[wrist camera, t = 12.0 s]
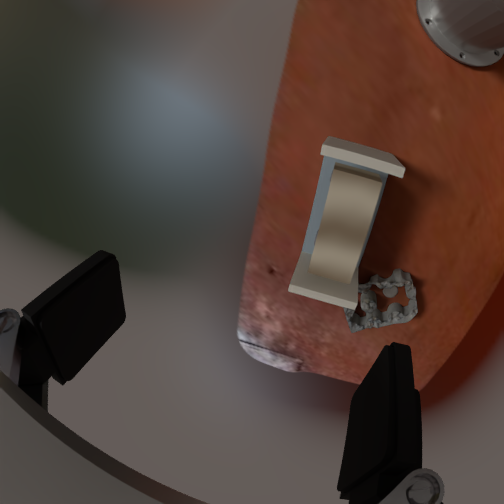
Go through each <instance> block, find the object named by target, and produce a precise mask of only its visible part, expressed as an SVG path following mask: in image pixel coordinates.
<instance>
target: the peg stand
mask: <svg viewBox="0 0 504 504" xmlns="http://www.w3.org/2000/svg"><path fill="white" fill-rule="evenodd" d="M320 155H324V159H323V164H322V168H321V173H320V177H319V182H318V186H317V191H316V195H315V199H314V204H313V208H312V212H311V216H310V220H309V224H308V228H307V233H306V237H305V241H304V245H303V249H302V252H301V255H300V258H299V260H298V263H297V266H296V269H295V271H294V274H293V277H292V280H291V282H290V285H289V289H288V291H289V292H293V293H296V294H300V295H303V296H307V297H310V298H314V299H317V300H320V301H324V302H328V303H331V304H335V305H338V306H342V307H345V308H349V309H352V310H355V308H356V306H357V304H358V267H359V264H360V261H361V258H362V256H363V253H364V250H365V247H366V244H367V241H368V238H369V235H370V232H371V229H372V226H373V223H374V220H375V217H376V214H377V211H378V207H379V204H380V201H381V198H382V194H383V191H384V187H385V184H386V180H387V177H388V174H391V175H394V176H397V177H400V178H403V175H404V171H405V167H404V166H403V165H402V164H401V163H400V162H399V161H398V160H397V159H396V157H395V156H394V155H393V154H391V153H388V152H384V151H381V150H378V149H375V148H371V147H368V146H364V145H361V144H357V143H354V142H350V141H346V140H343V139H339V138H335V137H331V136H328V138H327V139H326V140H325V142H324V143H323V144H322V149H321V154H320ZM335 162H337V163H341V164H345V165H348V166H352V167H356V168H359V169H363V170H366V171H370V172H373V173H376V174H379V176H380V178H381V180H382V187H381V191H380V194H379V197H378V201H377V204H376V208H375V211H374V214H373V217H372V221H371V224H370V227H369V230H368V233H367V236H366V239H365V242H364V245H363V248H362V251H361V254H360V257H359V260H358V262H357V265H356V268H355V271H354V274H353V276H352V279H351V282H350V284H346V283H342V282H339V281H335V280H332V279H328V278H325V277H321V276H318V275H314V274H311V273H307V272H308V268H309V264H310V261H311V257H312V254H313V250H314V246H315V242H316V239H317V235H318V231H319V227H320V223H321V219H322V215H323V211H324V207H325V203H326V199H327V195H328V191H329V187H330V182H331V178H332V174H333V169H334V165H335Z"/></svg>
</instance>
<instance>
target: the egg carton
mask: <svg viewBox="0 0 504 504" xmlns="http://www.w3.org/2000/svg"><path fill="white" fill-rule="evenodd" d="M371 284H375V285H376V286H377V287H379V288H380V289H382V288H384V289H383V294H384V295H385V296H386V297H394V296H395V295H396V294H397V293H398V288H397V287H402V286H404V285H405V291H406V295H407V297H408V298H409V299H411V300H410V301H409V305H408V306H405V307H402V306H401V304H399V303H392V304H390V305H389V306H388V309H387V311H385V312H380V310H379V309H377V299H376V294H375V292H374V291H371V290H369V289H370V288H371ZM396 286H397V287H396ZM358 292H359V293H362V294H361V308H362V310H363V311H365V312H366V316H364V317H359V315H358V314H356V313H354V311H355V310H352V309H349V308H345V307H343V308H344V312H345V315H346V318H347V321H348V324H349V328H350V330H351V333H354V332H357V331H360V330H363V329H365V328H372V327H376V328H379V327H382V326H386V325H391V324H395V323H406V322H409V321H410V320H411V319H412V318H413V317H414V316H415V315H416V314H417V313H418V309H417V301H416V289H415V287H413V282H412V279H411V277H410V273H406V272H403V271H402V270H401V269H395V270H393V274H392V275H391V276H390V277H389V278H386V279H384V278H381V277H379V276H378V274H376V275H374V276H372V277H371V278H370V281H369V282H368V283H366V284H359V283H358Z"/></svg>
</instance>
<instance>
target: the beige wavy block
mask: <svg viewBox="0 0 504 504" xmlns="http://www.w3.org/2000/svg"><path fill="white" fill-rule="evenodd" d="M381 187H382V180H381V178H380V176H379V174H376V173H373V172H370V171H366V170H363V169H359V168H356V167H352V166H348V165H345V164H341V163H337V162H335V165H334V169H333V174H332V178H331V182H330V187H329V191H328V195H327V199H326V203H325V207H324V211H323V215H322V219H321V223H320V227H319V231H318V235H317V239H316V242H315V246H314V250H313V254H312V257H311V261H310V264H309V268H308V272H307V273H311V274H314V275H318V276H321V277H325V278H328V279H332V280H335V281H339V282H342V283H346V284H350V282H351V279H352V276H353V274H354V271H355V268H356V265H357V262H358V260H359V257H360V254H361V251H362V248H363V245H364V242H365V239H366V236H367V233H368V230H369V227H370V224H371V221H372V217H373V214H374V211H375V208H376V204H377V201H378V197H379V194H380V191H381Z"/></svg>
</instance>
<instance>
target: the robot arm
mask: <svg viewBox="0 0 504 504" xmlns="http://www.w3.org/2000/svg"><path fill="white" fill-rule="evenodd" d="M416 7H417V14H418V17H419V20H420V23H421V25H422V27H423V29H424V31H425V32H426V33H427V35H428V36H429V38H430V39H431V40H432V41H433V42H434V44H435V45H436V46H437V47H438V48H439V49H440V50H442V51H443V52H444V53H445V54H447V55H448V56H450V57H451V58H452V59H454V60H456V61H458V62H460V63H463V64H466V65H469V66H475V67H482V66H488V65H492V64H493V63H495V62H497V61H498V60H499V59H501V57H502V56H503V54H504V0H417V2H416ZM426 22H428V24H429V25H428V24H426ZM494 53H495V54H494ZM460 55H461V56H462V58H461V57H460ZM21 311H22V313H23V317H20V315H19V313H18V312H17V311H16V310H14V309H9V308H7V309H2V310H0V504H208V503H206V502H203V501H200V500H198V499H195V498H193V497H190V496H188V495H185V494H183V493H181V492H178V491H176V490H174V489H172V488H170V487H167V486H165V485H163V484H161V483H159V482H157V481H155V480H153V479H151V478H149V477H147V476H145V475H143V474H141V473H139V472H137V471H135V470H134V469H132V468H130V467H128V466H126V465H125V464H123V463H121V462H119V461H118V460H116V459H114V458H113V457H111V456H109V455H108V454H106V453H104V452H103V451H101V450H100V449H98V448H97V447H95V446H94V445H92V444H90V443H89V442H87V441H86V440H84V439H83V438H82V437H80V436H79V435H77V434H76V433H74V432H73V431H72V430H70V429H69V428H68V427H66V426H65V425H64V424H62V423H61V422H60V421H58V420H57V419H56V418H54V417H53V416H52V415H51V414H49V413H48V379H49V378H50V377H51V376H52V377H53V379H55V380H56V381H57V382H59V383H60V384H62V385H64V384H65V383H66V381H70V380H72V379H73V378H74V377H75V375H76V374H77V373H78V372H79V371H80V370H81V369H82V368H83V367H84V365H85V364H86V363H87V362H88V361H89V360H90V359H91V358H92V357H93V355H94V354H95V353H96V352H97V351H98V350H99V349H100V348H101V347H102V346H103V345H104V344H105V342H106V341H107V340H108V339H109V338H110V337H111V336H112V335H113V334H114V333H115V332H116V331H117V330H118V329H119V328H120V326H121V325H122V324H123V323H124V321H125V318H126V313H125V307H124V301H123V293H122V287H121V279H120V271H119V263H118V261H117V260H116V257H115V255H113V254H111V253H108V252H106V251H103V250H100V251H98V252H96V253H95V254H93V255H92V256H91V257H89V258H88V259H86V260H85V261H84V262H82V263H81V264H80V265H78V266H77V267H75V268H74V269H73V270H71V271H70V272H69V273H67V274H66V275H65V276H63V277H62V278H61V279H59V280H58V281H57V282H55V283H54V284H53V285H52V286H51V287H49V288H48V289H46V290H45V291H44V292H43V293H41V294H40V295H39V296H38V297H36V298H35V299H34V300H33V301H32V302H30V303H29V304H28V305H27V306H25V307H24V308H23V309H22V310H21ZM337 490H338V491H341V495H340V499H346V500H349V504H443V503H442V500H443V496H444V484H443V481H442V479H441V478H440V476H439V475H438V474H437V473H436V472H434V471H433V470H430V469H427V468H424V469H422V421H421V404H420V394H419V391H418V390H417V389H415V388H414V376H413V365H412V356H411V349H410V346H408V345H404V344H400V343H396V342H393V343H391V345H390V346H388V345H385V346H384V348H383V349H382V351H381V353H380V354H379V356H378V358H377V359H376V361H375V363H374V364H373V366H372V367H371V369H370V370H369V372H368V373H367V375H366V377H365V378H364V380H363V381H362V383H361V384H360V386H359V387H358V389H357V390H356V392H355V393H354V395H353V397H352V400H351V405H350V414H349V421H348V428H347V435H346V441H345V447H344V453H343V459H342V464H341V470H340V475H339V480H338V485H337Z"/></svg>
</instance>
